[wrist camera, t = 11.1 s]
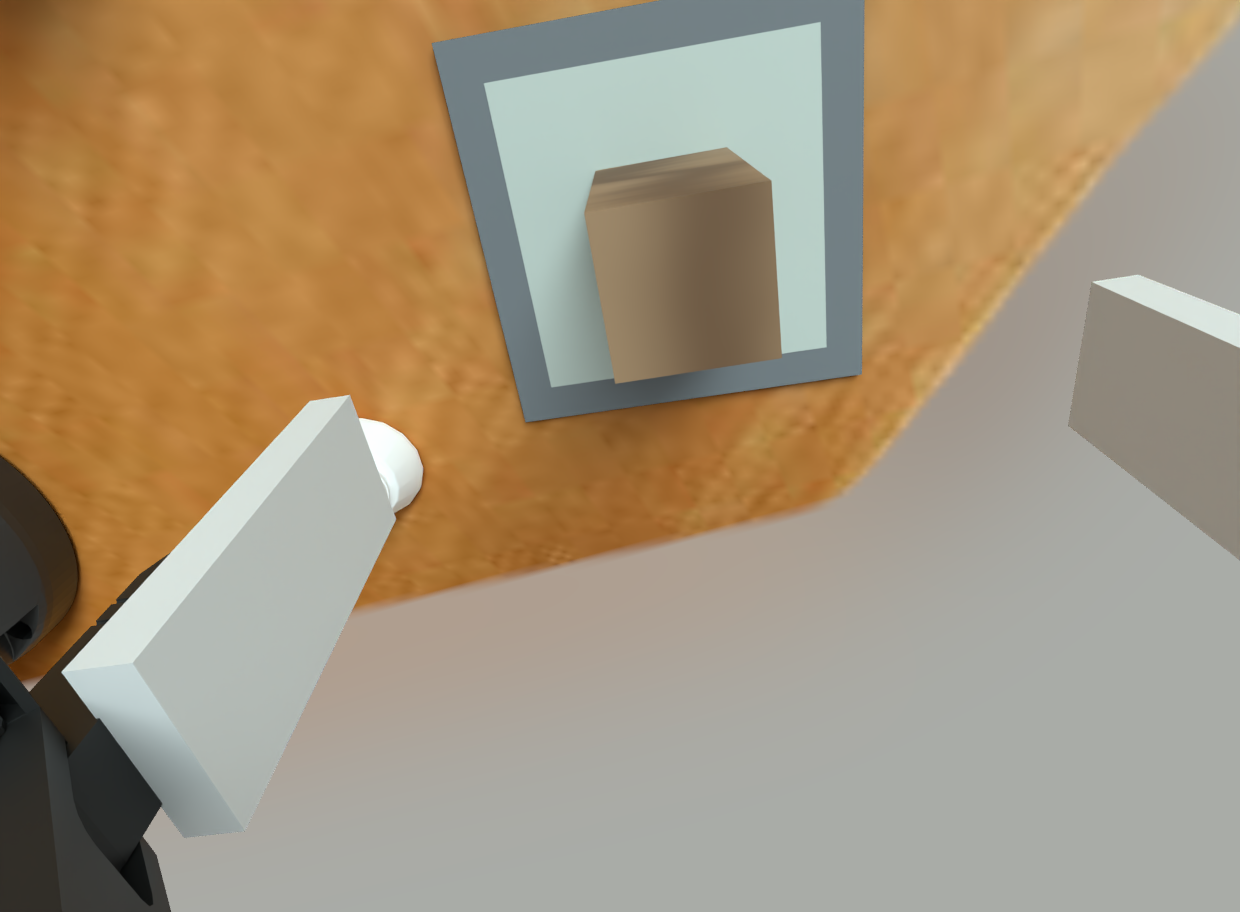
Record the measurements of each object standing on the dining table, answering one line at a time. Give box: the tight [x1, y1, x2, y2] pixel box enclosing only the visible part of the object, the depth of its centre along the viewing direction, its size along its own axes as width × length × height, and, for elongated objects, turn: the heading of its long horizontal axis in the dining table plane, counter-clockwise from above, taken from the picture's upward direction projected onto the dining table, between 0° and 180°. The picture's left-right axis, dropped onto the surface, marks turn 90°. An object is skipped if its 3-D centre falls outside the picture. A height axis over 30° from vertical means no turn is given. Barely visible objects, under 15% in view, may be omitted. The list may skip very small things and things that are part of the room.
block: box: [584, 147, 782, 384], centre depth 24 cm, size 5×5×9 cm
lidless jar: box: [359, 418, 423, 513], centre depth 32 cm, size 5×3×5 cm
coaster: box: [432, 0, 864, 422], centre depth 28 cm, size 15×15×1 cm
